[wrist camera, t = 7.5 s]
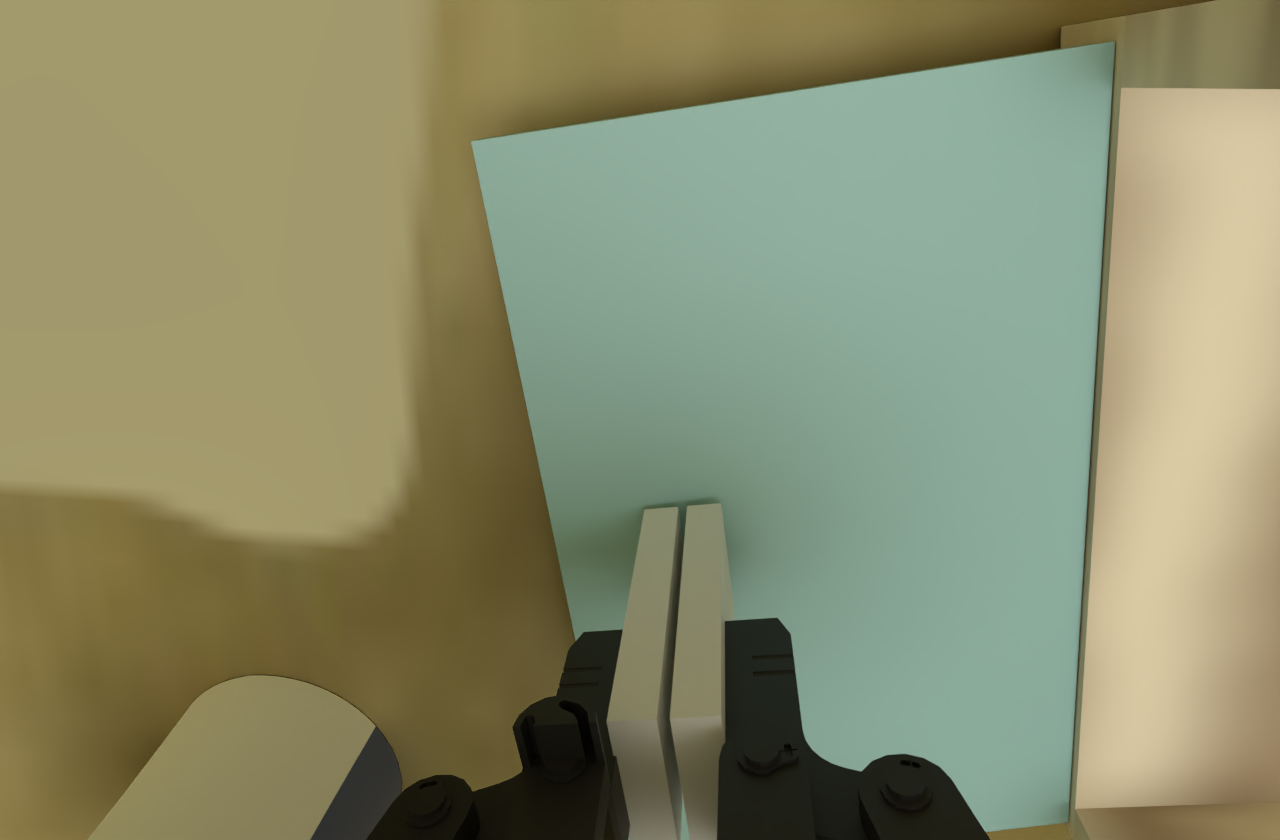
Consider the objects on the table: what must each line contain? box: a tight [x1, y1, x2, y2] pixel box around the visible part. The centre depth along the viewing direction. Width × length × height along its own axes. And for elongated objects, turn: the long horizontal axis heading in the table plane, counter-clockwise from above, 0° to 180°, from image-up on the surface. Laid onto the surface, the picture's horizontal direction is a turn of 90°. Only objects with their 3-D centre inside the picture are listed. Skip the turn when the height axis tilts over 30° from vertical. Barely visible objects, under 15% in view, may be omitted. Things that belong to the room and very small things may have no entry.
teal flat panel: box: [471, 41, 1115, 840], centre depth 20 cm, size 2×19×12 cm
